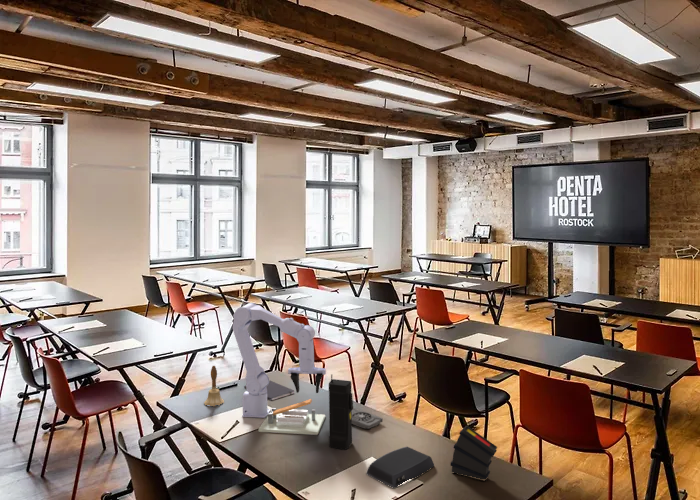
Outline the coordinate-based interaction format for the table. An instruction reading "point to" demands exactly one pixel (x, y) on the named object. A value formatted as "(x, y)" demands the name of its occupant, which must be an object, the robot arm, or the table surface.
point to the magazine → (472, 454)
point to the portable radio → (340, 414)
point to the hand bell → (214, 391)
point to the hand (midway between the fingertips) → (307, 392)
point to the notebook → (276, 391)
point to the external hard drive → (399, 466)
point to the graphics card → (364, 419)
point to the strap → (291, 407)
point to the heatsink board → (305, 430)
